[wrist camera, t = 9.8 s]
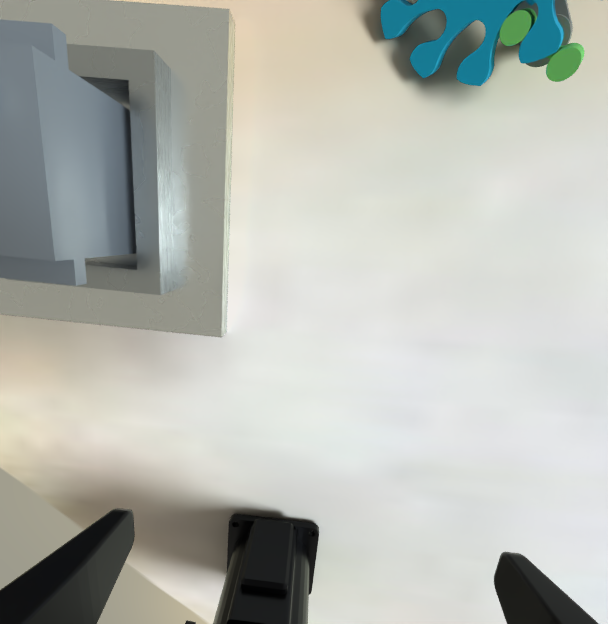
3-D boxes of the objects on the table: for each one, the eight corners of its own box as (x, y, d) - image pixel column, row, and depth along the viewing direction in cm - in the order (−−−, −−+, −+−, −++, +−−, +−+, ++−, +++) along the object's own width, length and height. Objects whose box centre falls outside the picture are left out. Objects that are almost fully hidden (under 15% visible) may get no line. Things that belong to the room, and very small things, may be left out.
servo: (139, 272, 17) (39, 293, 11) (64, 265, 17) (-76, 281, 11) (131, 86, 15) (1, -17, 9) (45, 79, 15) (-143, -28, 9)
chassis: (226, 332, 19) (212, 346, 16) (9, 309, 19) (-36, 320, 17) (235, 23, 15) (218, -18, 12) (-39, 3, 15) (-106, -41, 13)
